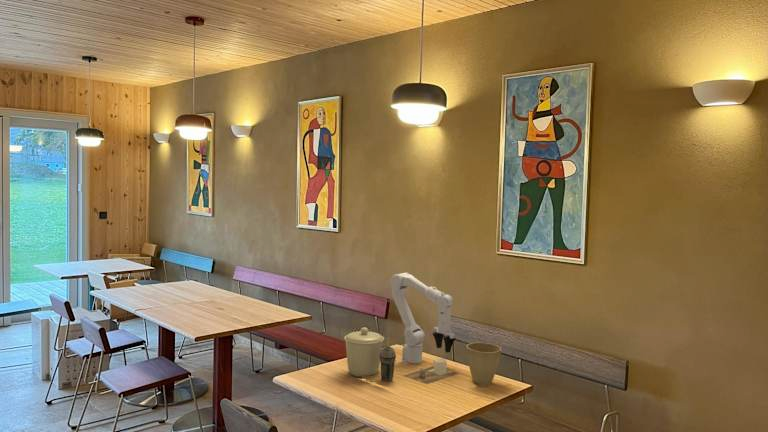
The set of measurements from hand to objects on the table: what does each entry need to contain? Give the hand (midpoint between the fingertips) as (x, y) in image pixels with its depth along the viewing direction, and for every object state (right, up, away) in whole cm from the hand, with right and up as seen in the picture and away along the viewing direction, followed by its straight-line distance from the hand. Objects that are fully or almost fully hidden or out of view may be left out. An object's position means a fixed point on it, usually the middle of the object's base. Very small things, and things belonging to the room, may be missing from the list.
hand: (443, 349), depth 259 cm
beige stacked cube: (-2, -8, -6) cm, 10 cm away
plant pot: (+15, -11, -16) cm, 25 cm away
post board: (-7, -10, -10) cm, 16 cm away
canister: (-37, -9, -8) cm, 39 cm away
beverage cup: (-26, -10, -19) cm, 34 cm away
